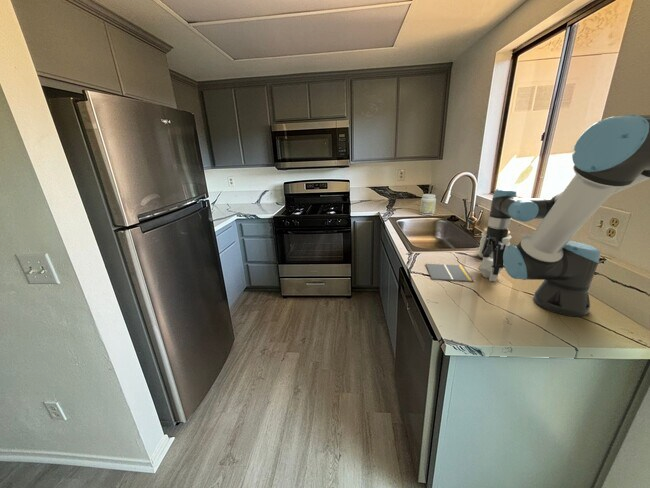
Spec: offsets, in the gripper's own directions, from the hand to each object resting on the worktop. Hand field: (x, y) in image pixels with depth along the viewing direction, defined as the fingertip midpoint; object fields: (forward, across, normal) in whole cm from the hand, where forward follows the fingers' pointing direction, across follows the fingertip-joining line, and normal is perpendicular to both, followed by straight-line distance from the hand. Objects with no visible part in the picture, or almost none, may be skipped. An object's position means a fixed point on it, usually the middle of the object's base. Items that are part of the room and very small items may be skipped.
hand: (488, 275), depth 118 cm
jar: (0, +24, -10) cm, 26 cm away
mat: (0, +1, +16) cm, 17 cm away
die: (0, 0, 0) cm, 0 cm away
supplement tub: (+1, +119, +7) cm, 119 cm away
